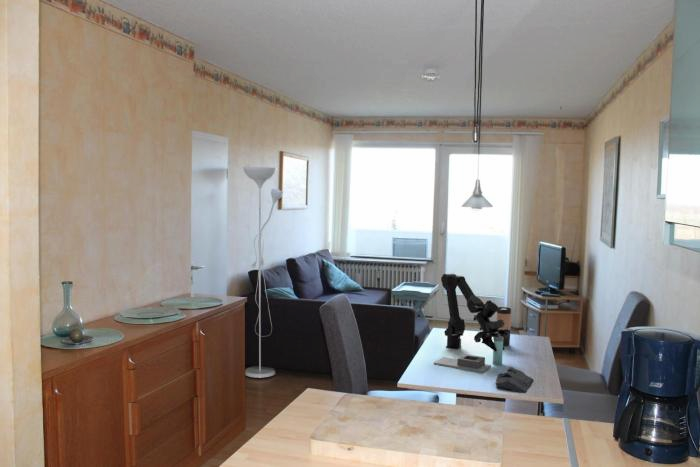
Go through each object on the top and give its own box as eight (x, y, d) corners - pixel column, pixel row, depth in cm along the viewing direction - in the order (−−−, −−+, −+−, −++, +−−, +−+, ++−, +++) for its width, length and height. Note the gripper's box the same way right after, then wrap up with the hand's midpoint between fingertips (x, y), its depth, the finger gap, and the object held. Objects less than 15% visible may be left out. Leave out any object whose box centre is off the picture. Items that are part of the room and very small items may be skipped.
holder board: (433, 364, 277) (434, 355, 277) (443, 358, 287) (443, 350, 287) (482, 372, 265) (483, 364, 265) (490, 366, 275) (491, 358, 275)
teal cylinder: (491, 363, 280) (492, 337, 279) (494, 361, 284) (495, 335, 283) (500, 365, 277) (501, 338, 276) (503, 363, 281) (504, 336, 281)
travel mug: (508, 343, 322) (510, 307, 321) (511, 346, 314) (512, 309, 313) (494, 342, 323) (495, 306, 321) (496, 345, 315) (498, 309, 314)
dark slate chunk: (489, 388, 244) (489, 377, 244) (499, 375, 264) (500, 364, 263) (527, 395, 237) (527, 383, 237) (534, 380, 257) (535, 369, 257)
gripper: (478, 315, 278) (494, 343, 269) (507, 312, 287) (523, 339, 278) (467, 328, 285) (481, 355, 276) (496, 325, 294) (511, 351, 285)
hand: (500, 350), depth 279 cm, fingers open, 5 cm apart
